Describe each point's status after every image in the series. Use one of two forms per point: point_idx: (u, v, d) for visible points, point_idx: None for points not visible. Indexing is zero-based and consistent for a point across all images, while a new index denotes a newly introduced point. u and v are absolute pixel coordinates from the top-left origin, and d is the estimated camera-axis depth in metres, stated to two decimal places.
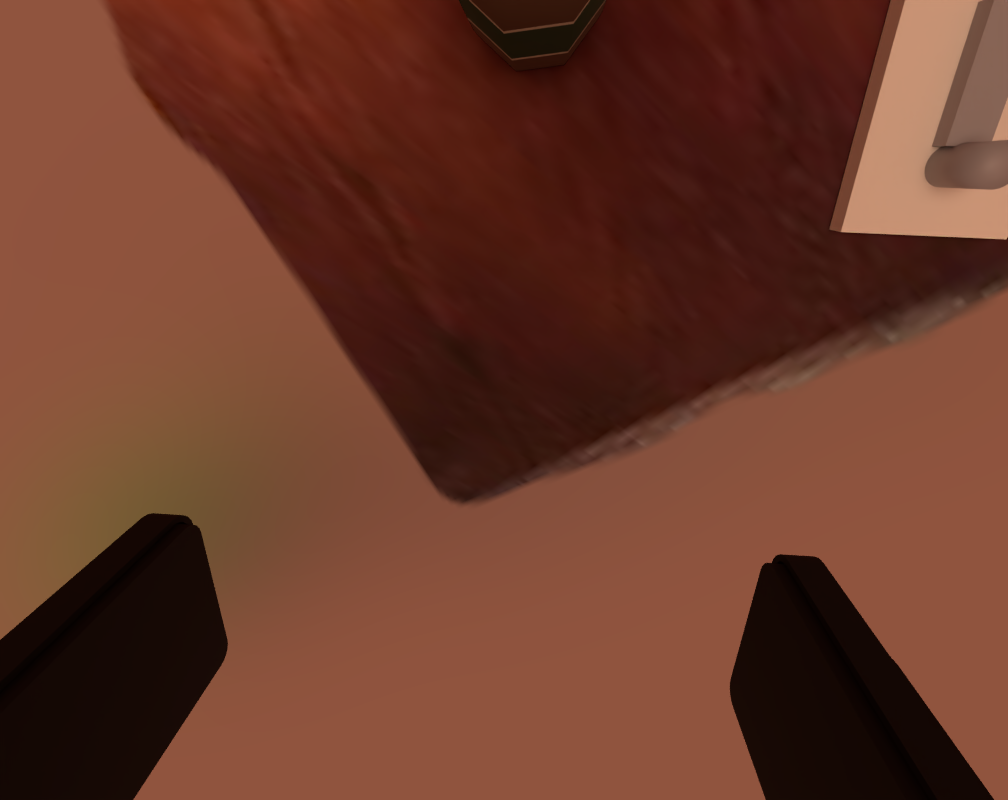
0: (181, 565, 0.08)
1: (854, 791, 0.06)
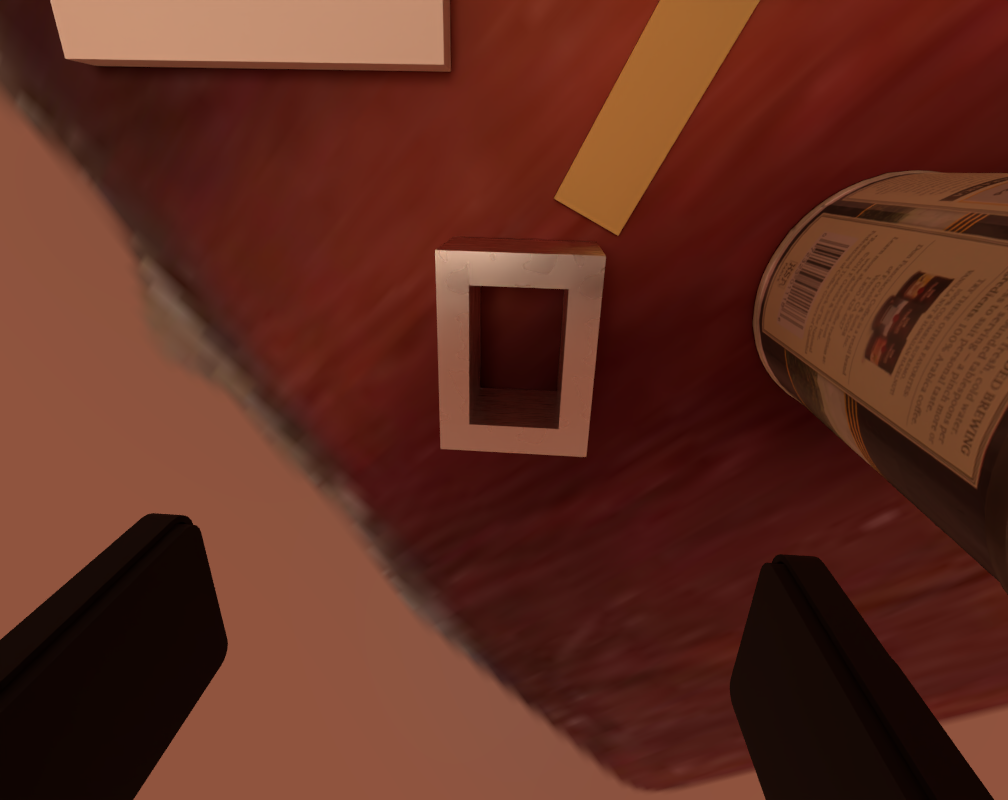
0: (181, 565, 0.08)
1: (853, 791, 0.06)
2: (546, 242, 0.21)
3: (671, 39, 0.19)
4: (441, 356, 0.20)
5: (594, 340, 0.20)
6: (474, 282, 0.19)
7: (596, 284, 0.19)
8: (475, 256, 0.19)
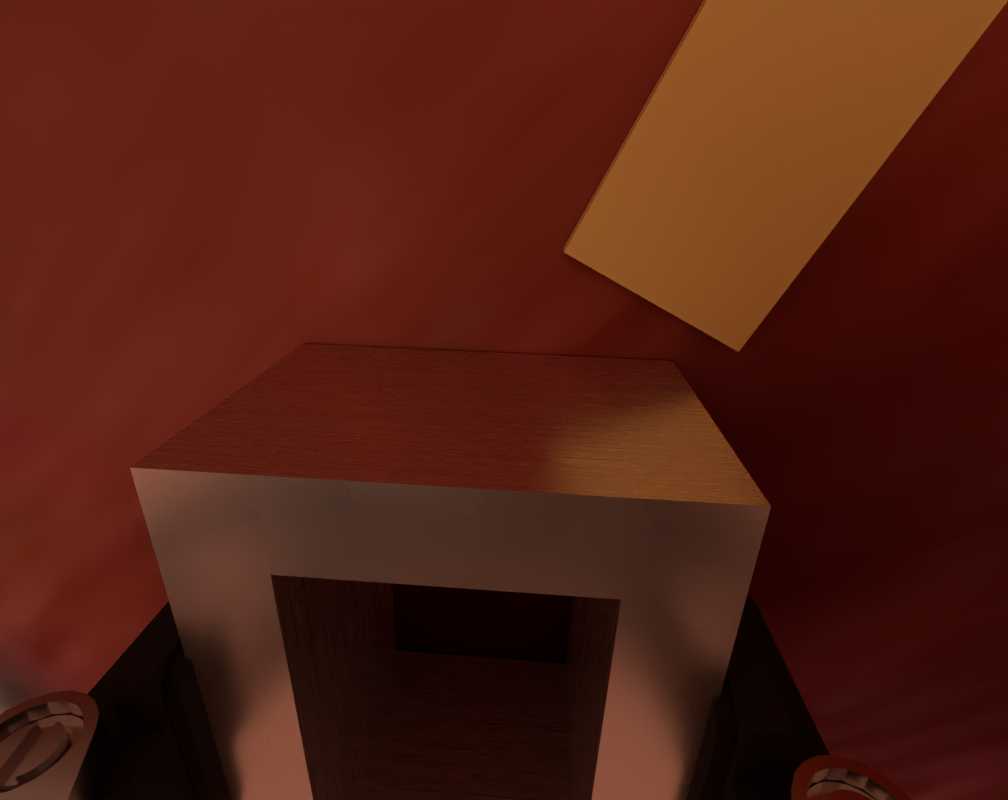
0: None
1: None
2: (542, 372, 0.08)
3: None
4: (220, 741, 0.07)
5: (699, 731, 0.06)
6: (288, 566, 0.05)
7: (722, 590, 0.05)
8: (278, 491, 0.05)
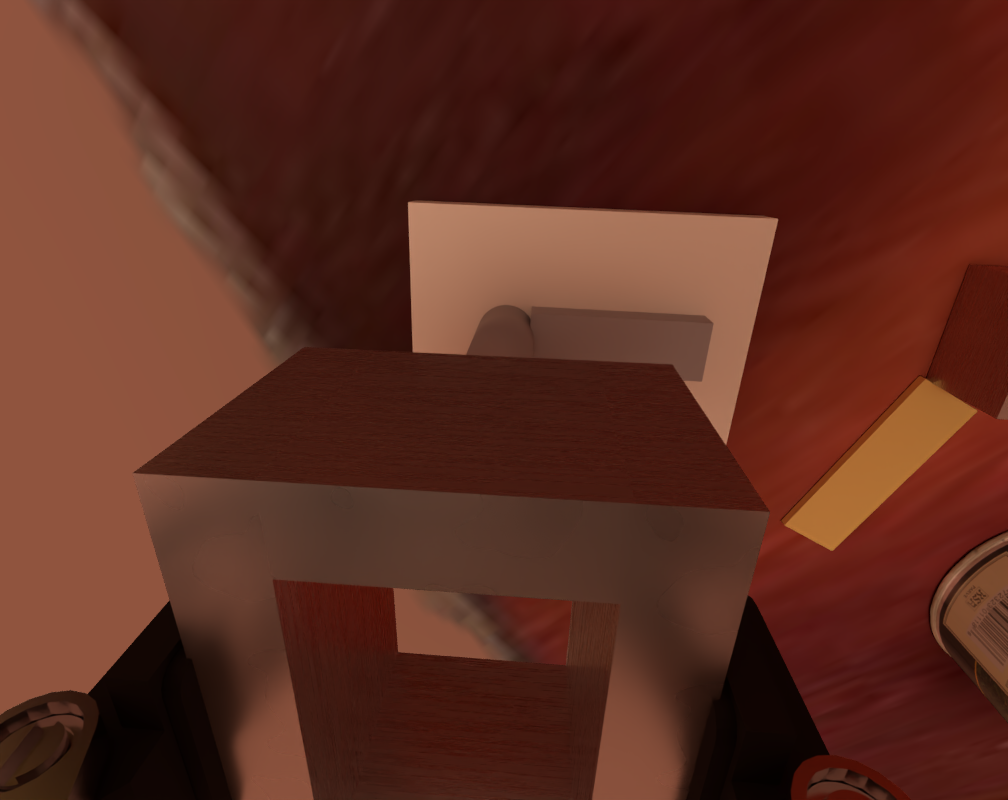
0: None
1: None
2: (542, 376, 0.08)
3: (900, 433, 0.24)
4: (222, 744, 0.07)
5: (698, 735, 0.06)
6: (289, 571, 0.05)
7: (721, 595, 0.05)
8: (280, 496, 0.05)
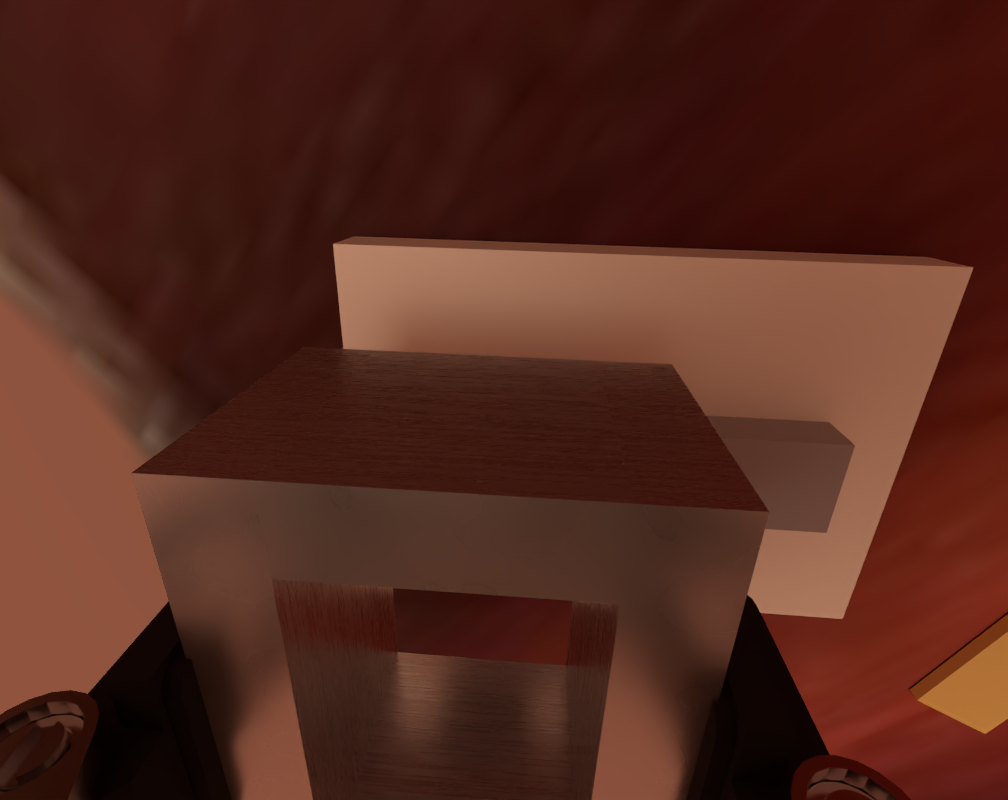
0: None
1: None
2: (542, 376, 0.08)
3: None
4: (221, 744, 0.07)
5: (698, 735, 0.06)
6: (289, 571, 0.05)
7: (720, 596, 0.05)
8: (280, 496, 0.05)
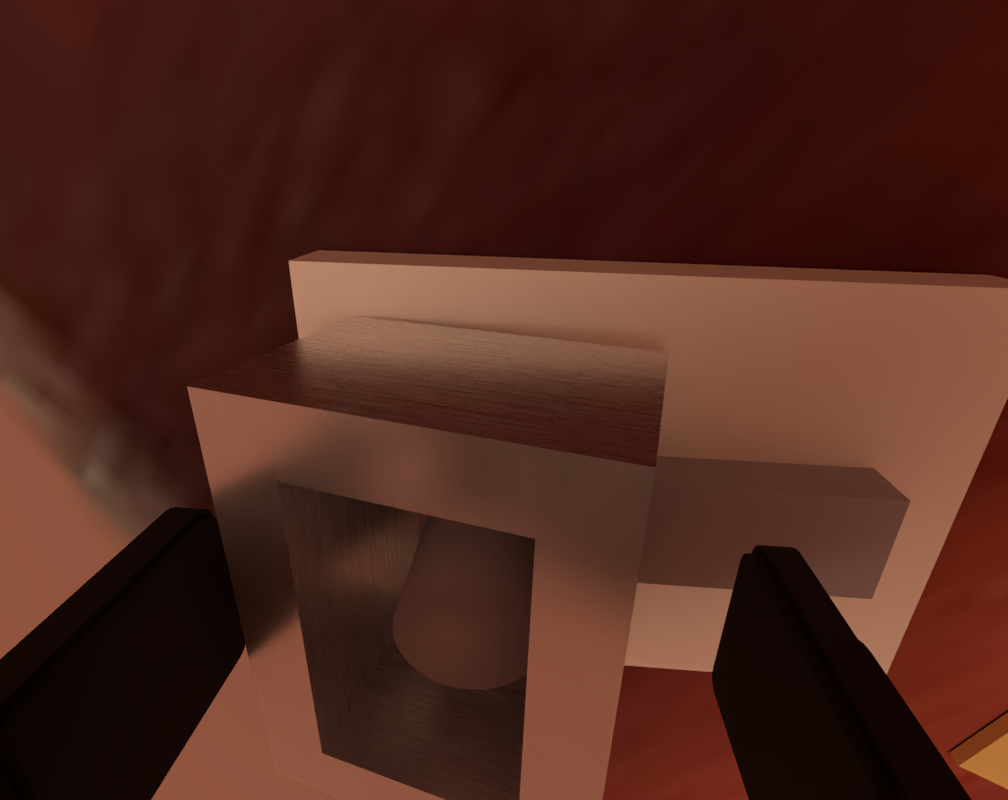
0: (204, 558, 0.08)
1: (822, 770, 0.06)
2: (537, 351, 0.09)
3: None
4: (246, 616, 0.09)
5: (611, 678, 0.07)
6: (288, 476, 0.07)
7: (620, 542, 0.06)
8: (281, 414, 0.07)
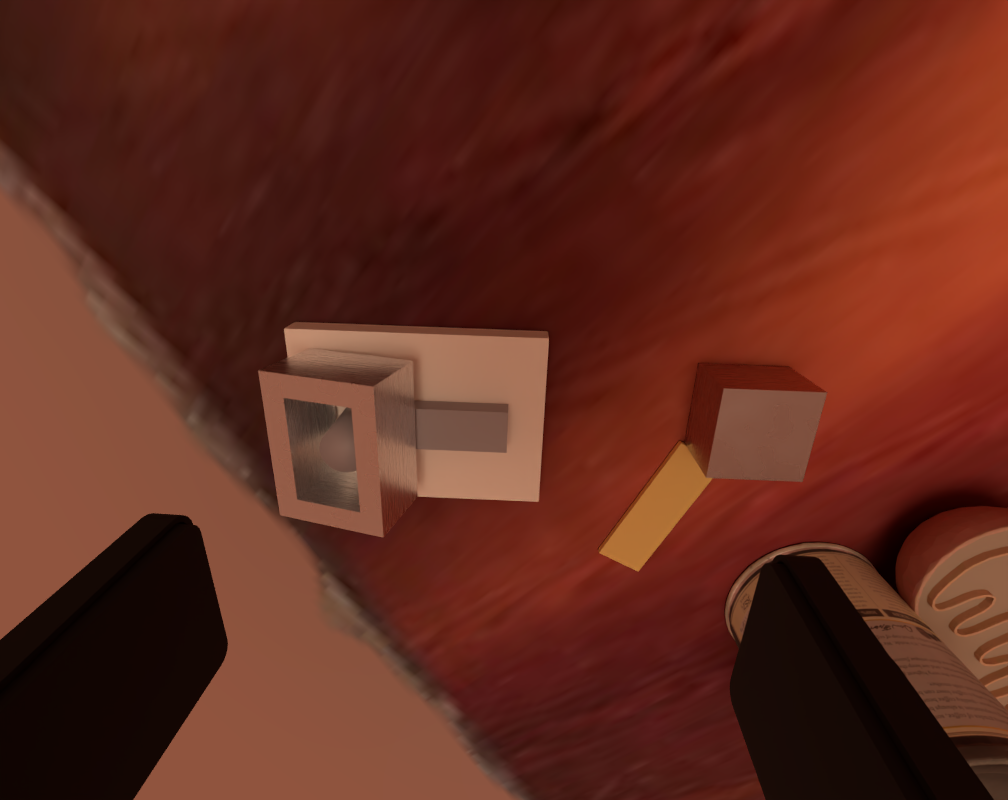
0: (181, 565, 0.08)
1: (854, 791, 0.06)
2: (368, 360, 0.27)
3: (671, 482, 0.32)
4: (272, 446, 0.26)
5: (375, 448, 0.25)
6: (286, 396, 0.25)
7: (369, 406, 0.24)
8: (285, 377, 0.25)
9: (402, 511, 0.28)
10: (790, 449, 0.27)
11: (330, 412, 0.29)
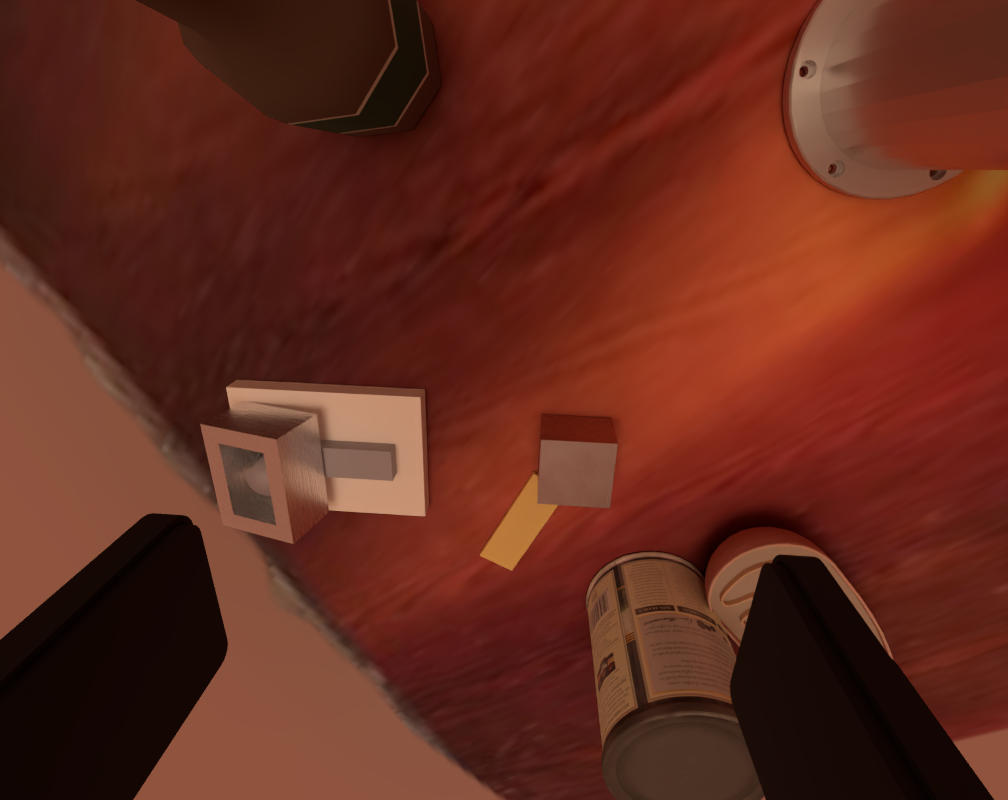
0: (181, 565, 0.08)
1: (854, 791, 0.06)
2: (283, 414, 0.36)
3: (529, 503, 0.41)
4: (213, 476, 0.36)
5: (281, 481, 0.34)
6: (220, 442, 0.35)
7: (275, 453, 0.33)
8: (218, 429, 0.34)
9: (312, 523, 0.38)
10: (597, 484, 0.36)
11: None
